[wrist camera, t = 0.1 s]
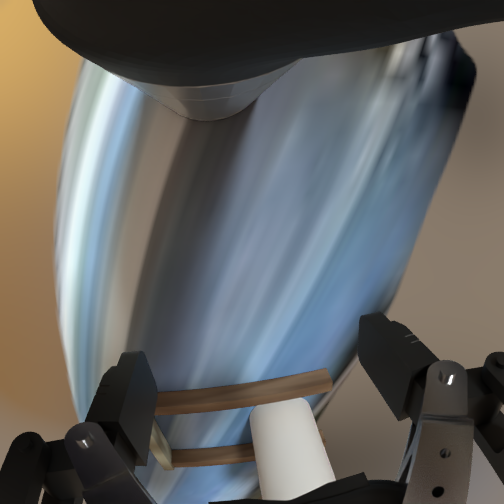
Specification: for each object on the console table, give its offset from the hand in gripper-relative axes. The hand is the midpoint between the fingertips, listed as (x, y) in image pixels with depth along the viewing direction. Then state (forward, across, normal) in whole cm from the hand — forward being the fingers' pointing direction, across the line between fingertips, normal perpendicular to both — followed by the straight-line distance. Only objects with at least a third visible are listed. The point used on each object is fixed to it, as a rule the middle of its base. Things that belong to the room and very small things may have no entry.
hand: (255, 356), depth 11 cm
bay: (+19, +3, +25) cm, 32 cm away
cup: (+19, -3, +25) cm, 32 cm away
